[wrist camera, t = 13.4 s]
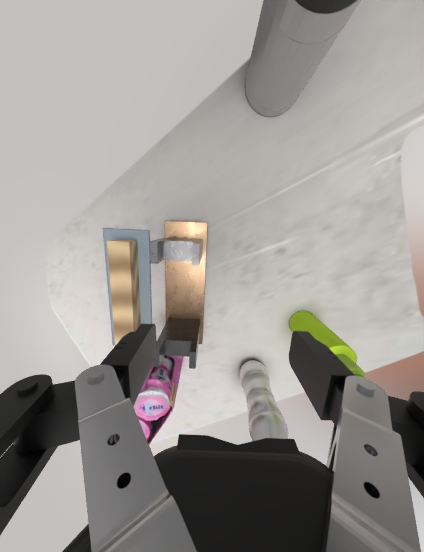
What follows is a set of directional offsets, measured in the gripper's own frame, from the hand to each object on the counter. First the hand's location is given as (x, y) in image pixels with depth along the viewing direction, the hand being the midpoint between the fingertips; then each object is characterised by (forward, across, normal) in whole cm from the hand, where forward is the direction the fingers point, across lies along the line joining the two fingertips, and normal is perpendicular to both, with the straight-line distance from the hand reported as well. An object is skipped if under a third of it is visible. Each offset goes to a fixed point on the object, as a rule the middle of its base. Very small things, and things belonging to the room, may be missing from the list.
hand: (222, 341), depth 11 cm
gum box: (+30, +15, +31) cm, 46 cm away
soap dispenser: (+30, -20, +14) cm, 39 cm away
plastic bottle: (+30, -10, +26) cm, 41 cm away
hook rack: (+30, +6, +6) cm, 31 cm away
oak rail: (+30, +18, +8) cm, 36 cm away
